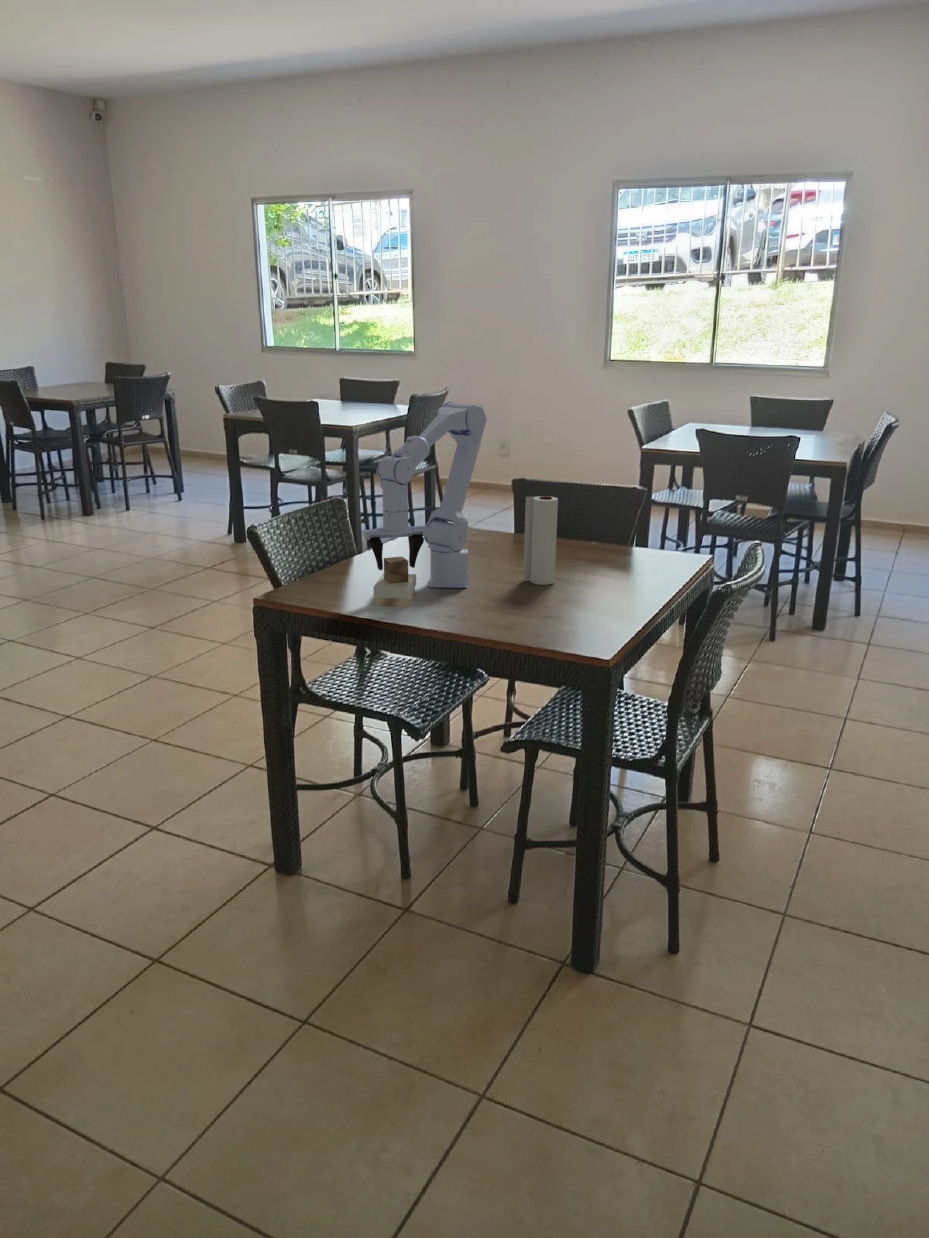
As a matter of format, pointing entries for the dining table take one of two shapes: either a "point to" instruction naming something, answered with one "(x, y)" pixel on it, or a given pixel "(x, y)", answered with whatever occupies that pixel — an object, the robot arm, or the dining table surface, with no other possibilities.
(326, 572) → the dining table surface
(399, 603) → the slab bottom
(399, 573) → the walnut block
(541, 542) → the paper towel roll
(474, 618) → the dining table surface
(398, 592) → the slab top
